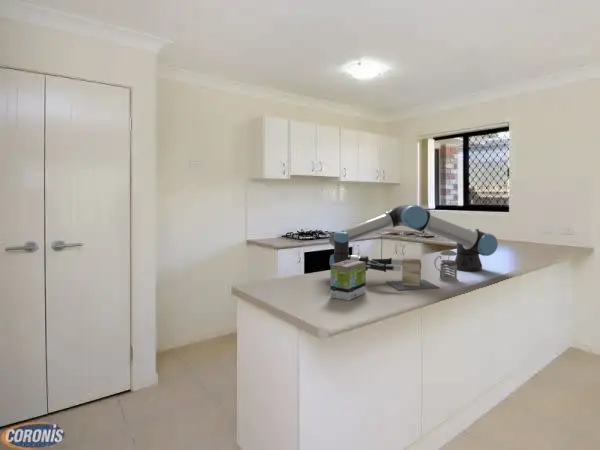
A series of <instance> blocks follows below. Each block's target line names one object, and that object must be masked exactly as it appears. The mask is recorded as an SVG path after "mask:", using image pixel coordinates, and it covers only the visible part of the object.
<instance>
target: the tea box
mask: <svg viewBox="0 0 600 450" xmlns="http://www.w3.org/2000/svg"><path fill="white" fill-rule="evenodd" d="M366 276H367V274H366V262H362V261H353V260H345V261H342V262H338V263H335V264H331V266H330V285H329V286H330V298H333V299H339V300H344V301H351V300H353V299H354V298H357V297H359V296H361V295H362V296H363V295H364V294H366V289H367V288H366V286H367V285H366V284H367V283H366Z"/></svg>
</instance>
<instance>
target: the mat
mask: <svg viewBox="0 0 600 450" xmlns="http://www.w3.org/2000/svg"><path fill="white" fill-rule="evenodd" d="M385 283H386V284H388V285H389V286H391V287H393V288H394V289H395V290H396V291H413V290H414V291H415V290H431V289H432V290H433V289H440V287H439V286H438V285H437V284H434V283H432V282H430V281H428V280H426V279H424V278H423V279H421V284H420V286H412V285H402V280H387V281H385Z"/></svg>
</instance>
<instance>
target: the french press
mask: <svg viewBox="0 0 600 450" xmlns="http://www.w3.org/2000/svg"><path fill="white" fill-rule="evenodd" d="M447 234H451V232H450V231H448V232H447ZM439 254H440V255H438V256H437V257H436V258H435V259H434V268H436V269H437V271H439V278H438V281H439V282H441V283H451V284H452V283H453V284H454V283H458V282H459V283H460V281H459V279H458V273H457V272H458V270H457V264H454V263H456V261H455V260H452V259H450V256H452V257H453V256H457V251H453V250H450V249H448V250H443V251H441V252H440V253H439ZM442 256H448V259H443V260H442ZM438 259H440V260H441V263H440V269H439V268H438V266H436V263H437V262H436V261H437V260H438Z"/></svg>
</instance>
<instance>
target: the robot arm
mask: <svg viewBox="0 0 600 450" xmlns="http://www.w3.org/2000/svg"><path fill="white" fill-rule="evenodd" d="M400 226H401V227H406V228H410V229H412V230H415V231H418V232H421V233H422V232H424V231H425V232H428V233H431V234H434V235H436V236H438V237H441V238H444V239H446V240H448V241H452V242H455V243H456V253H457V255H455V259H454V261H456V263H454V264H457V271H463V272H478V271H479V272H480V271H482V270H483V265H482V261H481V258H480V256H483V257H487V256H491V255H493V254H494V253H496V251H497V249H498V245H499V243H498V239H497V236H495V235H494V234H491V233H486V232H483V231H481V230H480V229H479V228H465V227H463V226H459V225H457V224H454V223H452V222H449V221H448V220H444V219H442V218H439V217H436V216H433V215H431V212H430V211H429V210H427V209H425V208H423V207H422V206H420V205H417V204H402V205H399V206H396V207H394V208H392V209H390V210H386V211H385V212H384V213H383V214H382V215H379V216H377V217H374V218H371V219H369V220H366V221H363V222H361V223H358V224H356V225H353V226H351V227H348V228H345V229H343V230H340V231H335V232H332V233H331V234H330V235H329V237H328V242H329V244H330V245H331V246H332V247H333V250H334V251H333V254H330V255H329V256H330V257H329V266H330V267H331V264H335V263H338V262H342V261H345V260H353V261H362V262H366V271H368V270H375V271H381V272H383V273H386V272H387V271H389V272H390V271H393V272H402V260H403V259H393V258H392V257H389V258H372V259H369V256H368V255H359V254H358V255H354V254H349V251H350V250H349V246H350V244H349V243H351V242H354V241H357V240H359V239H361V238H364V237H367V236H370V235H372V234H374V233H378V232H380V231H383V230H385V229H388V228H390V229H393V228H395V227H400ZM448 231H450V232H451V234H447V232H448Z"/></svg>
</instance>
